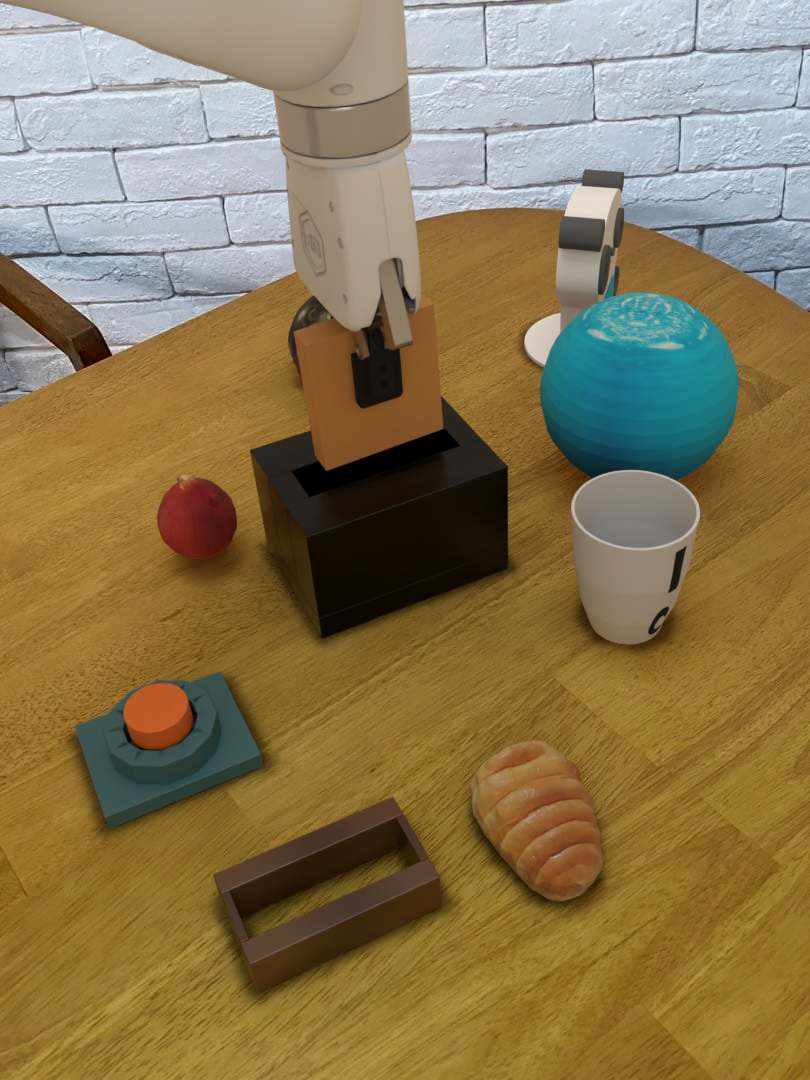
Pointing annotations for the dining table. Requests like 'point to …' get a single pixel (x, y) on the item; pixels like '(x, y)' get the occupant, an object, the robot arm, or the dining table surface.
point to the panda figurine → (583, 256)
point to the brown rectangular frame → (337, 920)
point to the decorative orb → (639, 387)
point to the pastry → (539, 818)
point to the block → (168, 753)
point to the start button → (158, 716)
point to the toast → (331, 391)
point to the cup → (632, 550)
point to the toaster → (383, 521)
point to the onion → (196, 518)
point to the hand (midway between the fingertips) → (371, 389)
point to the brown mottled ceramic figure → (306, 323)
